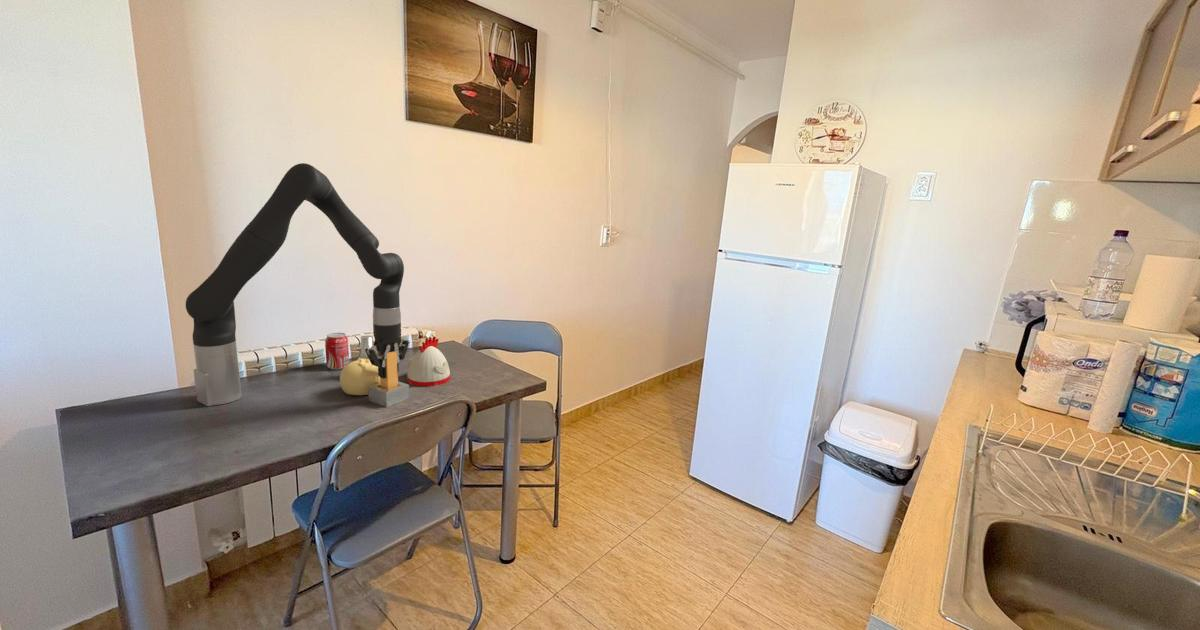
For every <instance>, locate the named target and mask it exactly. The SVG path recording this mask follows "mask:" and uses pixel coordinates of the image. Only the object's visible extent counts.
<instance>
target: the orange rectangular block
mask: <svg viewBox="0 0 1200 630" xmlns="http://www.w3.org/2000/svg"><path fill="white" fill-rule="evenodd" d="M381 356H384V355H382V354H381ZM386 356H387V359H386V366H385V367H386V378H384V379H383V378H380V386H381V388H383V389H386V390H389V389H392V388H395V387H398V381H399V378H398V379H397V351H392V352H389V353H388V354H387V355H386Z"/></svg>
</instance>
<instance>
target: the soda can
mask: <svg viewBox="0 0 1200 630" xmlns="http://www.w3.org/2000/svg"><path fill="white" fill-rule="evenodd" d="M324 343H325V345H324V346H325V348H324V350H325V351H324V352H325V361H326V367H327V368H328V369H330V370H334V371H336V370H337V371H340V370H343V368H344V367H345V366H346V365H347V364H349V363H350V355H349V354H350V351H349V349H350V348H349V339H348V337H347V336H346V333H344V332H331V333H327V334H326V338H325V340H324Z"/></svg>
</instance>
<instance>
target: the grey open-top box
mask: <svg viewBox="0 0 1200 630" xmlns="http://www.w3.org/2000/svg"><path fill="white" fill-rule="evenodd" d="M409 399H410V384H408V383H404V382H401V381H399V380H398V387H395V388H392V389H389V390H386V389H383V388H381V386H380V383H377V384H374V385H371V386H369V394H368V401H370V402H373V403H375V404H377V405H380V406H383V407H386V408H388V407H390V406H394V405H395V404H399V403H401V402H403V401H406V400H409Z"/></svg>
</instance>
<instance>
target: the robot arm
mask: <svg viewBox="0 0 1200 630" xmlns="http://www.w3.org/2000/svg"><path fill="white" fill-rule="evenodd" d="M305 201H306V202H309V203H310V204H312V205H313V206H314V207H315V208H317V209H319V210H320V211H321V212H322V214H324V215H325V216H326V217H327V218H328V219H329V220H330V222H331V223H332V225H333V226H334V228H335V230H336V231H337V233H338V234H339V235H340V236H341V238H342V239H343V240H344V242H346V244H347V245H348V246H349V247H350V248H351V249H352V250H353V251H354V252H355V254H356V256H357V258H358V259H359V262H360V263H361V266H362V268H363V269H364V270H365V272H366V273H367V274H368V275H369V276H370V277H372V278H374V279H377V280H380V282H379V284H378V285H377V286H376V287H374V288H373V291H372V304H373V306H372V307H373V308H372V327H373V328H372V329H373V330H372V331H373V333H372V336H373V339H374V341H373V346H372V347H371V348H366V349H365V352H366V354H367V356H368V358H369V360H370V362H371V364H372V365H374V366H377V367H378V375H379V376H380V378H383V379H384V378H386V367H385V366H386V359H387V356H386V355H387V354H388V353H389V352H392V351H397V374H398V375H399V371H400V370H399V363H400V361H401V360H404V359H405V357H406V353H407V350H408V348H409V347H408V346H409V344H410V342H409V340H407V339H402V338H401V336H402V318H401V317H402V314H401V307H400V291H401V286H402V282H403V278H404V273H405V266H404V265H405V264H404V261H403V259H402V257H401V256H400V255H399V254H397V253H395V252H386V253H381V252H380V251H379V250H378V248H379V246H380V241H379V239H378V238H377V236H376V235H375V234H374V233H373V232H372V231H371V230H370V229H369V228H368V227H367V226H366V225H365V224H364V222H362V221H361V220H360V218H358V217H357V215H356V214H355V213H354V212H353V211H352V210H351V209H350V208H349V207H348V205H346V203H345V202H344V200H343V199H342V198H341V196H340V195H339V193H338V192H337V190H336V189H335V187H334V185H333V184H332V183H331V181H330V179H329V178H328V177H327V176H326V175H325V174H324V173H323V172H322V171H320V170H319V169H317V168H316V167H314V166H312V165H311V164H309V163H306V162H304V163H303V162H302V163H297V164H294V165H293V166H292V167H290V168H289V169H288V170H287V171H286V173H285V174H284V176H283V177H282V178H281V180H280V182H278V185H277V186H276V187H275V189H274V191H273V193H272V194H271V195H270V197H269V198H268V200H267V201H266V202H265V203H264V205H263V206H262V207H261V209H260V210H259V211H258V212H257V213H256V215H255V216H254V217H253V219H252V220H251V221H250V222H249V223H248V224H247V225H246V226H245V228H243V230H242V231H241V232H240V234H239V235H238V236H237V237H236V238H235V240H234V241H233V242H232V244H231V245H230V247H229V248H228V250H227V251H226V252H225V255H224V256H223V258H222V259H221V260H220V263H219V264H218V266H217V267H216V268H215V269H214V271H213V272H212V273H211V274H210V275H209V276H208V277H207V278H206V279H205V280H204V281H203V282H202V283H201V284H200V285H199V286H198V287H197V288H195V289H194V290H193V291H192V292H190V293H189V294H188V296H187V297H186V300H185V310H186V312H187V314H188V315H189V317H190V318H192V319H193V331H192V344H193V351H194V352H193V353H194V359H195V367H196V368H195V369H193V378H194V384H195V385H194V386H195V393H196V394H195V395H196V400H197V402H198V403H201V404H203V405H204V406H207V407H210V406H218V405H224V404H229V403H232V402H235V401H237V400H240V399H241V398H242V384H241V376H240V367H239V358H238V348H237V339H236V331H237V330H236V329H237V327H236V326H237V323H236V311H235V302H234V301H235V299H236V298H237V296H238V295H239V293H240V291H242V289H243V288H244V286H245V285H246V284H247V283H248V282H249V281H250V280H251V279H252V278H253V277H255V275H257V274H258V273H259V272H260V271H261V270H262V269H263V268H264V267H265V266H266V265H267V264H268V263H269V262H270V261H271V260H272V258H273V257H274V256H275V255H276V253H278V252H279V250H281V249H280V248H281V247H282V246H283V244H284V243H285V241H286V239H287V236H288V232H289V228H290V223H291V220H292V218H293V216H294V214H295V212H296V211H297V210H298V208H299V207H300V206H301V205H302V204H303V203H304V202H305ZM381 354H382V355H384V356H381Z"/></svg>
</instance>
